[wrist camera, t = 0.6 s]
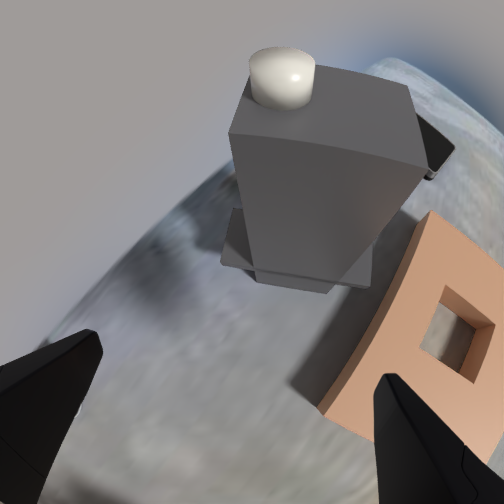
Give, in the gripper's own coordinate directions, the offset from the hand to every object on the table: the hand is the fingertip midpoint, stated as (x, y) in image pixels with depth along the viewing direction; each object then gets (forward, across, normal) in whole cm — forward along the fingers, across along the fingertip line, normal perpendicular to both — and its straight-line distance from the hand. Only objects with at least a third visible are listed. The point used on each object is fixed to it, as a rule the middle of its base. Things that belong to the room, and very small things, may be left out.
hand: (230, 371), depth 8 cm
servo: (+15, -2, +3) cm, 15 cm away
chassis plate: (+10, -17, +9) cm, 22 cm away
